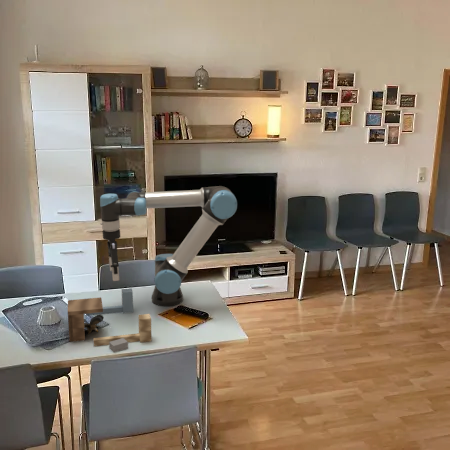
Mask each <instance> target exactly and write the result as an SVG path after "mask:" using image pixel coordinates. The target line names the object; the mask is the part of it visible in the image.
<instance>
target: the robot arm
mask: <svg viewBox="0 0 450 450" xmlns="http://www.w3.org/2000/svg"><path fill="white" fill-rule="evenodd" d="M99 198H100V199H99V202H100V203H99V204H100V205H99V206H100V216H101V222H100V226H102V239H104V240H105V241H107V242H106V243H107V249H108V261H109V262H108V264H109V272H112V273H111V275H112V281H113V282H116V281H120V272H119V271H120V270H119V256H118V242H117V241H116V240H119V239H120V238H121V229H120V228H121V223H120V217H122V216H123V217H124V216H128V217H129V216H138V217H139V216H143V215H146V214H147V209H158V208H159V209H163V208H165V209H166V208H185V207H201V211H202V214H201V216H199V219H198V220H197V221H196V222H195V224H194V225H193V227H192V228H191V229H190V231H189V232H188V233H187V235H186V236H185V238H184V239H183V241H182V242H181V243H180V244H179V246H178V247H177V249H176V250H175V251H174V253H161V254H157V255H155V258H154V278H153V279H154V280H153V281H154V282H153V283H154V287H153V292H152V295H151V302H152V303H153V304H155V305H156V306H160V307H173V306H177V305H180V304H181V303H182V302H183V301H184V294H183V291H182V289H181V286H182V281H183V280H184V279H185V277H186V276H187V275H188V272H189V271H188V269H189V266H190V264H191V263H192V262H193V261H194V259H195V258H196V257H197V255H198V253H199V252H200V250H202V248H203V247H204V246H205V244H206V242H208V240H209V239H210V237H211V236H212V234H213V233H214V232H215V230H216V229H217V228H218V227H219V226H223V225H224V224H225V222H226V221H227V220H228V219H229V218H231V217H233V215H235V213H236V212H237V209H238V200H237V198H236V196H235V194H234V193H233V192H232V191H231V189H230V188H228V187H225V186H222V185H219V186H216V185H215V186H208V187H206V186H204V187H201V188H200V189H192V190H191V189H190V190H167V191H166V190H165V191H145V192H144V191H143V192H140V191H135V190H134V191H131V192H129V193H128V194H127V195H126V197H125V198H119V195H118V194H117V193H105V194H102V195H100V197H99Z"/></svg>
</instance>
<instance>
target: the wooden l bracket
mask: <svg viewBox="0 0 450 450" xmlns="http://www.w3.org/2000/svg"><path fill="white" fill-rule="evenodd" d="M103 307H104V306H103V301H102V297H101V296H100V297H92V298H91V297H89V298H78V299H67V320H68V322H67V323H68V324H67V325H68V336H69V337H68V339H69V343H73V342H74V343H75V342H82V341H86V336H85V335H86V334H85V333H86V331H85V330H86V329H85V328H84V314H88V313H99V312H103Z"/></svg>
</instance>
